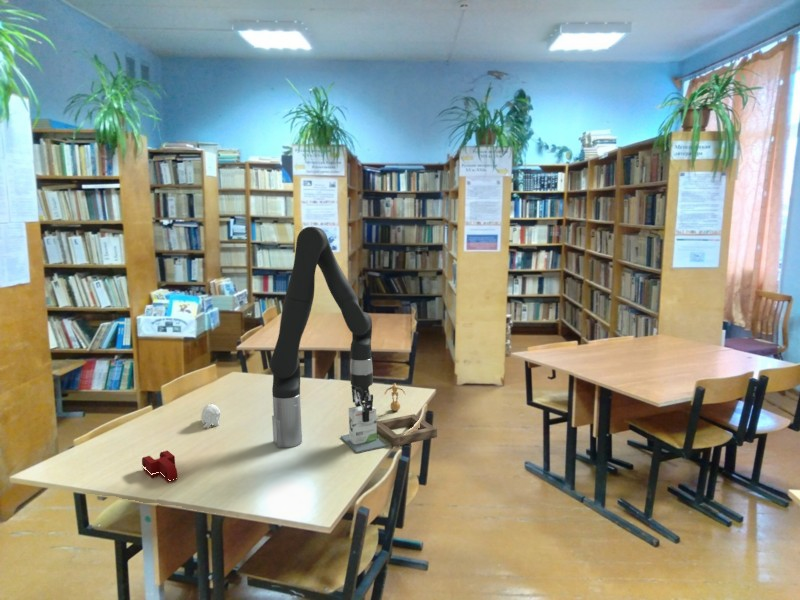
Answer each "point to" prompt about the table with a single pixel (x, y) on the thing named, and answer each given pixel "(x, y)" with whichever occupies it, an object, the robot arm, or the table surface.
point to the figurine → (395, 404)
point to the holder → (395, 439)
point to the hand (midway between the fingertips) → (362, 418)
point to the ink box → (362, 426)
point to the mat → (364, 444)
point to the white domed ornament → (210, 415)
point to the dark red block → (161, 466)
